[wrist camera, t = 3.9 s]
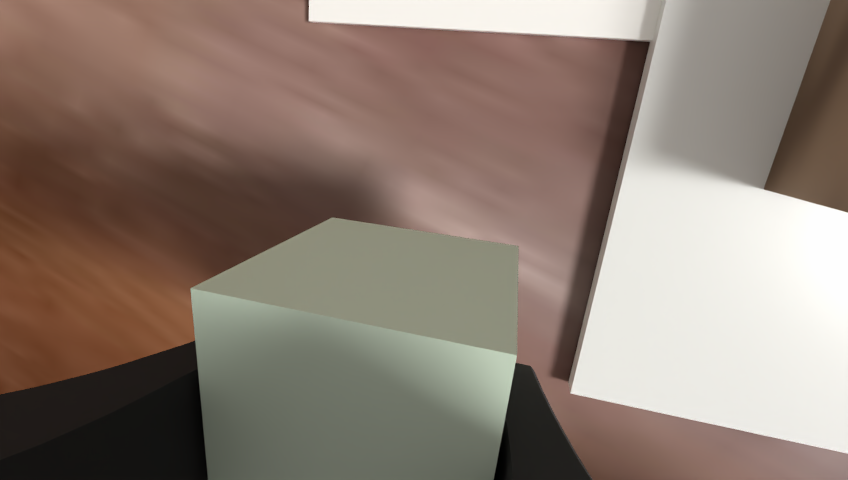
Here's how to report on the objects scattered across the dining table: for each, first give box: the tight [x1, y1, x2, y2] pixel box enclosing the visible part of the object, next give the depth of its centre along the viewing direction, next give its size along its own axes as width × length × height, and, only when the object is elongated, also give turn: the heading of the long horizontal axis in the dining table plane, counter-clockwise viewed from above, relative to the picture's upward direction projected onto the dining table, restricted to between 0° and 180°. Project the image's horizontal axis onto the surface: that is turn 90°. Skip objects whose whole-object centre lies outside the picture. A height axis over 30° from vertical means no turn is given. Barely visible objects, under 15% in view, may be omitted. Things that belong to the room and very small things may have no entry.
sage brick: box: [191, 217, 518, 480], centre depth 8 cm, size 6×4×4 cm
